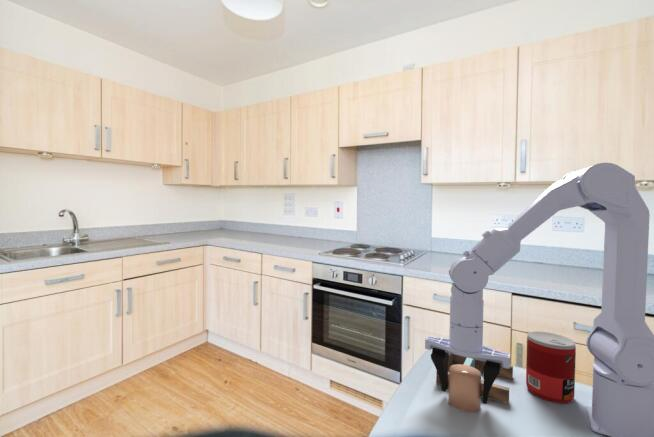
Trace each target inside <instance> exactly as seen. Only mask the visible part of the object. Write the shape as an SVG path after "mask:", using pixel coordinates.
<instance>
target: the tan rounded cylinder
mask: <svg viewBox="0 0 654 437" xmlns="http://www.w3.org/2000/svg"><path fill="white" fill-rule="evenodd" d="M481 381H482V371H479V370H477V369H476V368H474V367H471V366H468V365H462V364H455V365H452V366H450V367H449V387H448V403H449V404H450V405H451V406H452V407H454V408H455V409H456V410H457V409H458V410H460V411H462V412H467V413H468V412H469V413H470V412H471V413H475V412H478V411H479V410H480V409H481V405H482V404H481V403H482V402H481V400H482V399H481V398H482V396H481Z"/></svg>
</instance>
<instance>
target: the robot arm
mask: <svg viewBox="0 0 654 437" xmlns="http://www.w3.org/2000/svg"><path fill="white" fill-rule="evenodd" d="M635 183H636V176H635V175H634V174H632V173H631V172H629V171H627V170H626V169H624V168H623V167H622V166H619V165H618V164H615V163H612V162H600V163H599V162H598V163H596V164H593V165H591V166H588V167H585V168H581V169H577V170H576V169H575V170H573V171H570V172H568V173H566V174H564V175H563V177H562V178H561V179H560V180H557V181H555V182H553V183H552V184H551V185H550V186H549V187H548V188H547V189H545V190H544V191H543V192H542V193H541V194H540V195H539V196H538V197H537V198H536V199H535V200H534V201H533V202H532V203H530V205H529V206H527V208H525V209H523V211H522V212H521V213H520V214H519V215H518V216H517V217H516V218H515V219H514V220H513V221H511V223H510V224H508V225H507V226H506V227H505V228H501V227H500V228H499V227H498V228H493V229H492V230H491V231H489V230H485V232H483V233H481V236H482V237H483V238H481V239H480V240H479V241H478V242H477V243H476V244H475V245H474V246H472V248H471V249H470V250H468V249H466V250H464V251H463V252H462V254H463V256H465V257H463V256H462V257H459V258H457V259H455V261H453V262H452V264H451V266H450V269H449V270H448V274H449V275H448V276H449V278H450V280H451V281H452V283H451V287H450V293H451V295H450V298H449V302H450V303H449V336H448V337H449V338H443V337H434V336H427V337H426V338H425V340H424V350H429V351H431V354H430V358H431V361H432V363H433V365H434V367H435V370H436V373H437V372H438V376H439V379H440V383H441V384H440V387H441V392H444V393H446V392H447V389H449V387H448V360H449V353H451V354H455V355H459V356H463V357H468V358H472V359H476V360H480V361H484V362H485V365H484V367H483V372H482V373H483V381H484V389H483V397H481V398H482V399H481V400H482V402H481V403H482V404H483V405H488V401H489V398H488V396H489V392H490V389H491V387H492V385H493V384H495V381H496V379H497V378H498V377H499V376H498V374H499V372H500V368H501V366H502V367H504V368H507V369H509V368H510V365H511V354H510V353H507V352H502V351H500V350H497V349H493V348H491V347H488V346H485V345H484V344H483V343H484V342H483V339H484V306H485V305H484V296H483V295H484V289H485V288H486V287H487V286H488V285H487V284H488V282H489V276H492V275H495V273H497V271H499V270H500V269H501V268H502V267H504V266H505V265H506V264H507V263H509V262H510V260H512V259H513V258H514V257H515V256H516V255H518V254H519V253H520V252H521V242H522V240H523V239H525V238H527V237H528V236H529V235H530V234H532V232H534V231H535V230H536V229H538V228H539V227H541V225H543V224H544V223H545V222H546V221H548V220H549V219H550V218H551V217H553V216H554V215H555V214H557V213H558V212H560V211H563V210H568V209H571V208H572V209H573V208H575V207H580V208H582V209H585V210H587V211H589V212H590V213H591V214H593V215H594V216H595V217H598V219H600V220H601V221H602V222H604V237H603V238H604V241H603V244H604V245H603V268H602V269H603V270H602V288H601V290H602V291H601V312H600V313H599V314H598V315H597V316H596V317H595V318H593V325H592V329H591V331H590V332H589V333H588V335H587V337H586V346H587V350H588V351H589V353H590V354H591V355H592V356H593V361H594V362H593V365H592V396H591V398H592V399H591V400H592V401H591V406H590V405H587V406H585V407H586V408H585V409H586V412H587V416H588V420H589V424H590V427H591V431H593V432H595V433H597V434H602V435H604V436H608V437H654V333H653V331H651V328H650V327H649V326H648V324H647V323H646V305H647V303H646V301H647V300H646V299H647V280H648V279H647V278H648V261H649V260H648V258H649V256H648V255H649V235H650V234H649V233H650V210H649V208H648V206H647V204H646V203H645V201H644V199H643V198H642V197H643V196H642V195H641V194H640V193H639V190H638V189H637V188H636V186H635V185H636V184H635Z"/></svg>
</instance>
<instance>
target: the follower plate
mask: <svg viewBox="0 0 654 437" xmlns="http://www.w3.org/2000/svg"><path fill="white" fill-rule="evenodd" d="M463 365H468V366H471V367H474V368H475V359H472V358H468V357H467V358H466V360H465V362H464V364H463Z"/></svg>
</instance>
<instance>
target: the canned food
mask: <svg viewBox="0 0 654 437" xmlns="http://www.w3.org/2000/svg"><path fill="white" fill-rule="evenodd" d="M576 348H577V346H576V342H575V341H574V340H572V339H570V338H569V337H567V336H564V335H561V334H556V333H551V332H546V331H530V332H528V333H527V337H526V364H525V365H526V366H525V368H526V369H525V370H526V372H525V373H526V374H525V375H526V376H525V383H526V387H527V389H528V391H529V392H530V393H532V395H534V396H536V397H538V398H540V399H542V400H545V401H547V402H551V403H556V404H570V403H571V402H573V401H574V398H575V387H576V386H575V385H576V384H575V382H576V381H575V380H576V357H577V356H576V350H577V349H576Z"/></svg>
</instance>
